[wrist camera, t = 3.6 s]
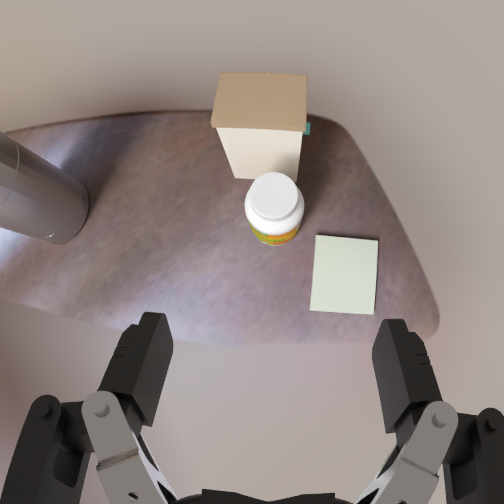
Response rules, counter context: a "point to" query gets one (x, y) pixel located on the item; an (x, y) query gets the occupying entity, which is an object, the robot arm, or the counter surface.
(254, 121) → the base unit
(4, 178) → the robot arm
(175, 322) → the counter surface
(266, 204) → the supplement bottle
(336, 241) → the plate
